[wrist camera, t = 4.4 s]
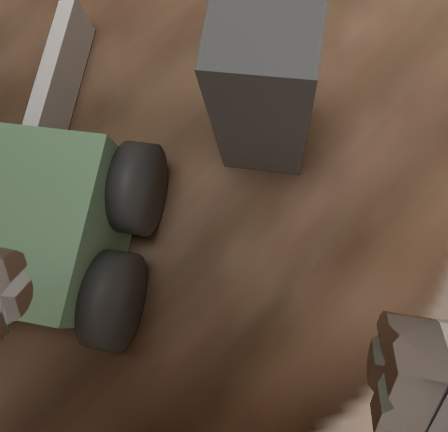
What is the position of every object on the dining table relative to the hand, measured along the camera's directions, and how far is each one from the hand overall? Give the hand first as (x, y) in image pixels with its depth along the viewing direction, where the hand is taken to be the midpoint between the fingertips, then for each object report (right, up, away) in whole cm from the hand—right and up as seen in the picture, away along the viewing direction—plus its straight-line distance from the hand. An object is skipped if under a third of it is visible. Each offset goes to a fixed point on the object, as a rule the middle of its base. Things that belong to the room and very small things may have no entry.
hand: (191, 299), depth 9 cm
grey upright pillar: (+3, +7, +16) cm, 17 cm away
